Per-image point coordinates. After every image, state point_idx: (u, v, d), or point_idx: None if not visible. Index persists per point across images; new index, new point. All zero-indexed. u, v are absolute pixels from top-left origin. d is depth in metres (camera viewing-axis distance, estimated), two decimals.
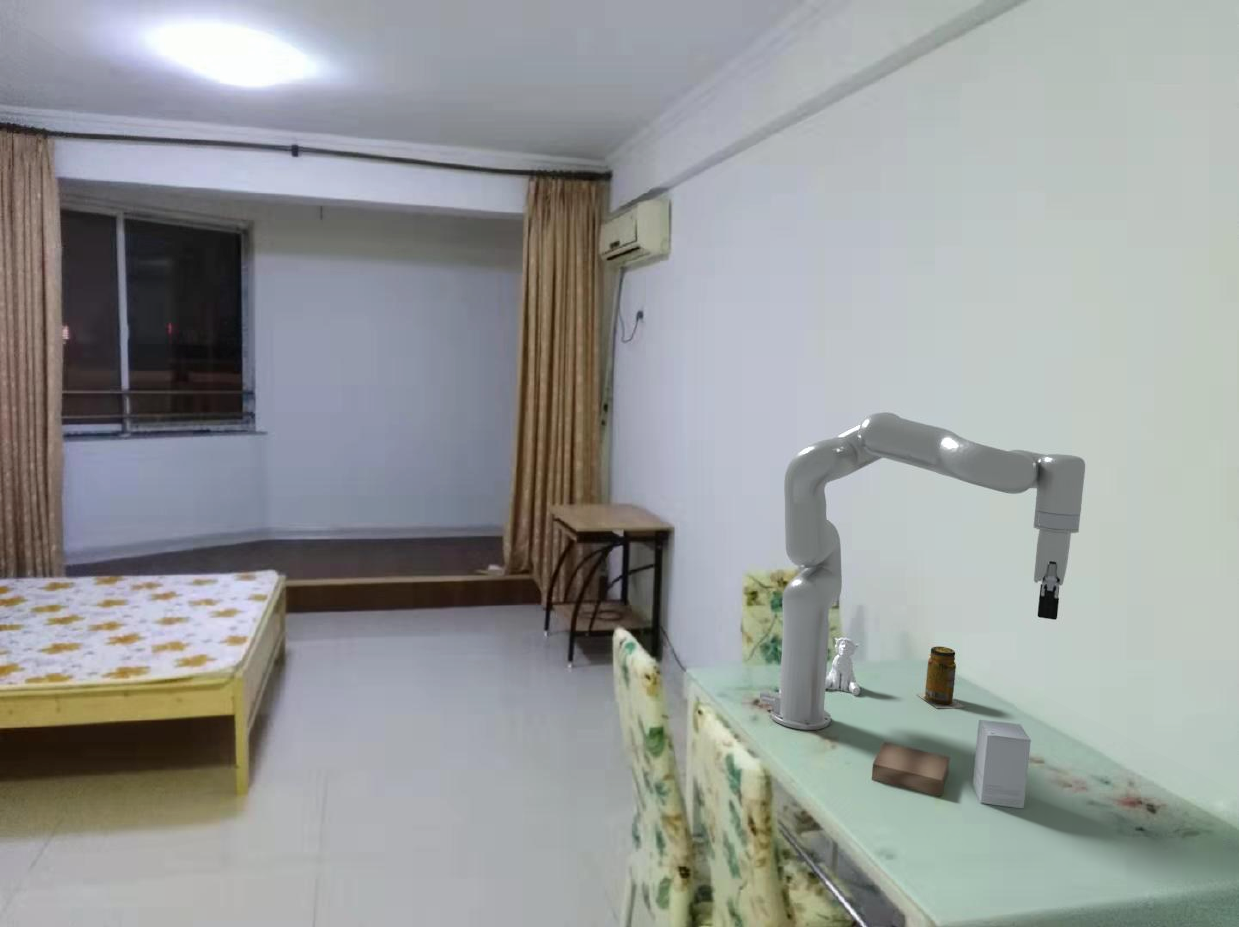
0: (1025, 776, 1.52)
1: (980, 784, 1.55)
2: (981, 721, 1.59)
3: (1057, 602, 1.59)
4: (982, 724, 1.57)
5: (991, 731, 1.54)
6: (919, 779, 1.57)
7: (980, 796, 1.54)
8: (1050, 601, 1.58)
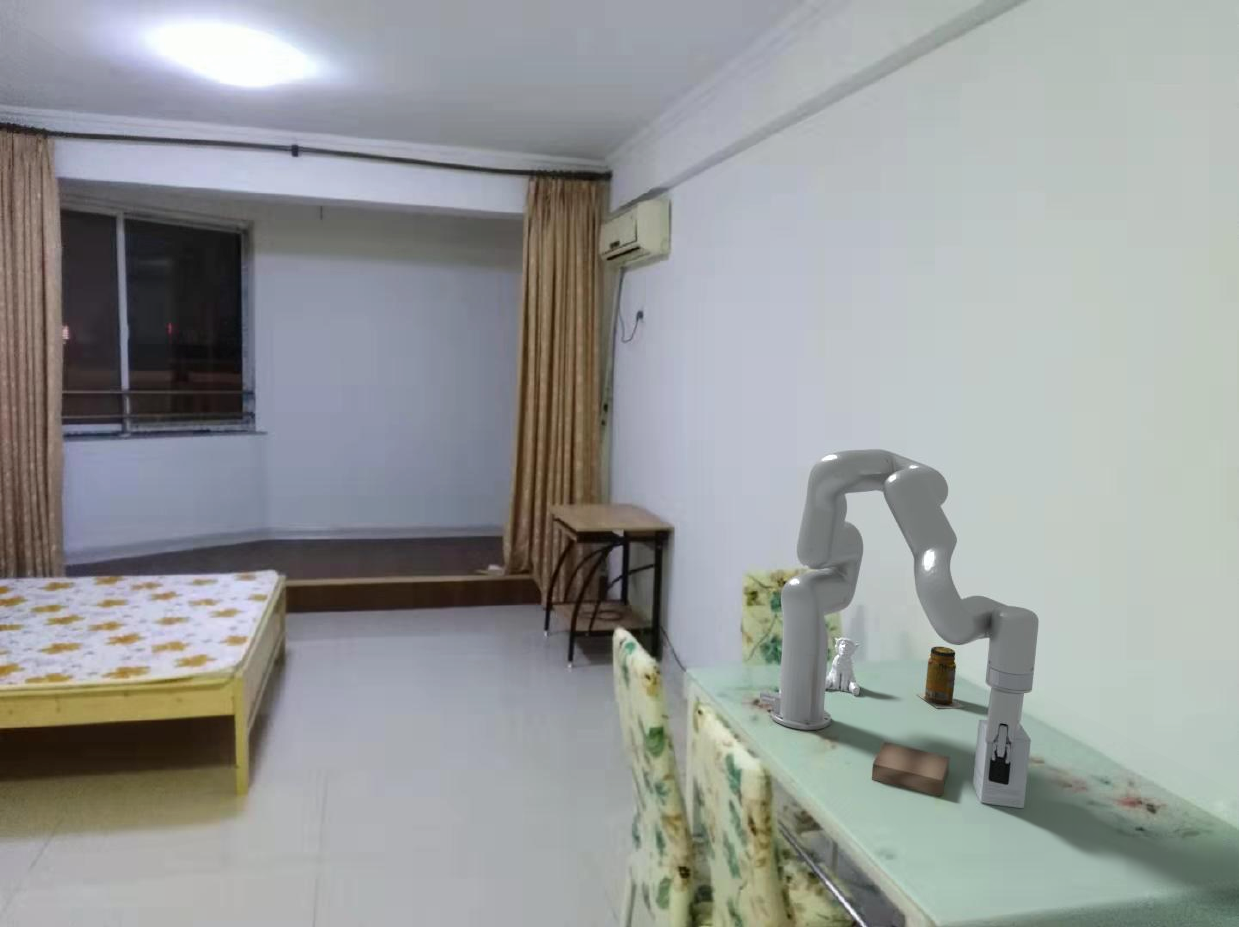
0: (1025, 776, 1.52)
1: (980, 784, 1.55)
2: (981, 721, 1.59)
3: (1009, 766, 1.51)
4: (982, 724, 1.57)
5: None
6: (919, 779, 1.57)
7: (980, 796, 1.54)
8: (1001, 766, 1.51)
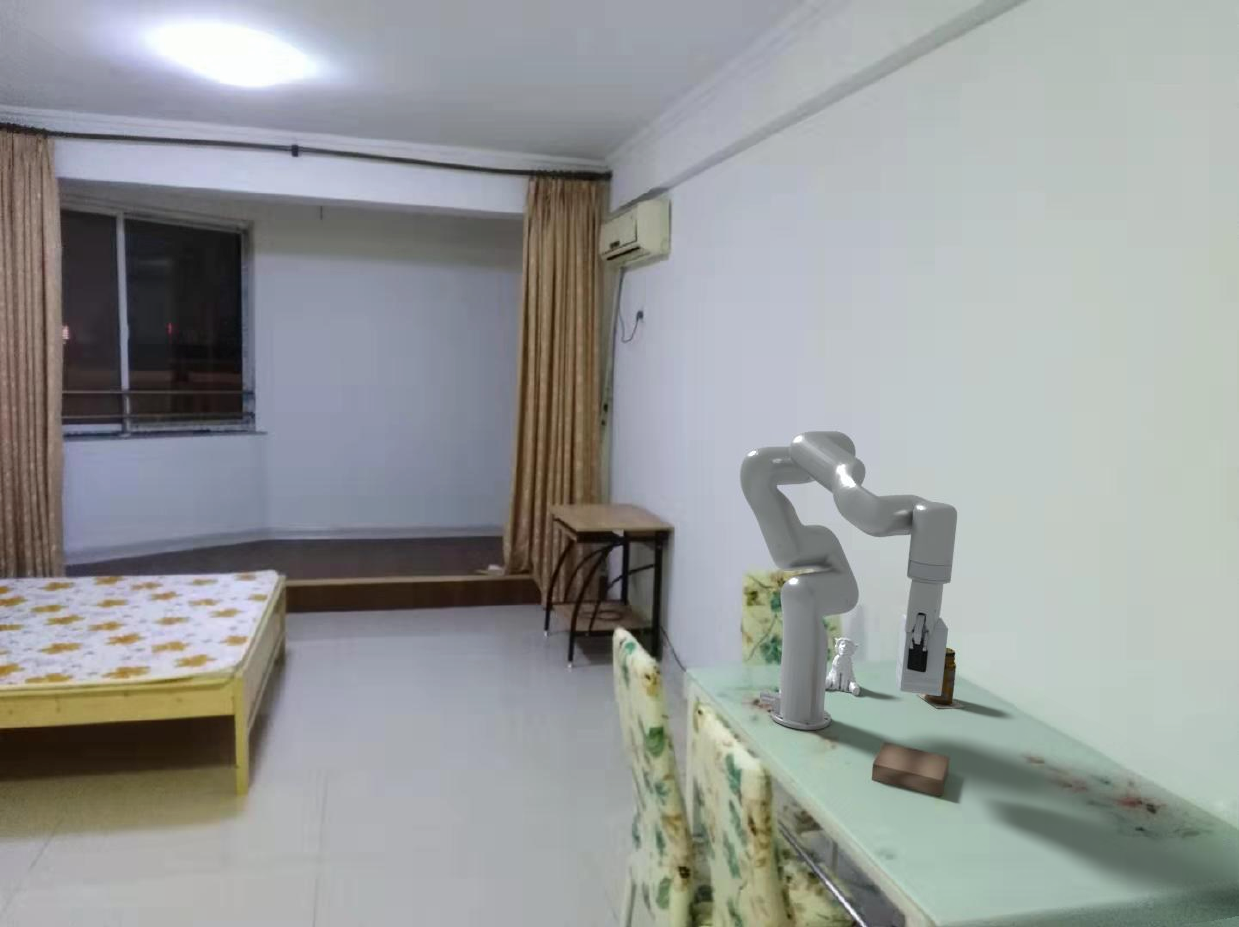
0: (942, 664, 1.57)
1: (900, 673, 1.60)
2: (903, 615, 1.64)
3: (926, 654, 1.56)
4: (904, 617, 1.62)
5: None
6: (919, 779, 1.57)
7: (900, 685, 1.59)
8: (919, 654, 1.56)
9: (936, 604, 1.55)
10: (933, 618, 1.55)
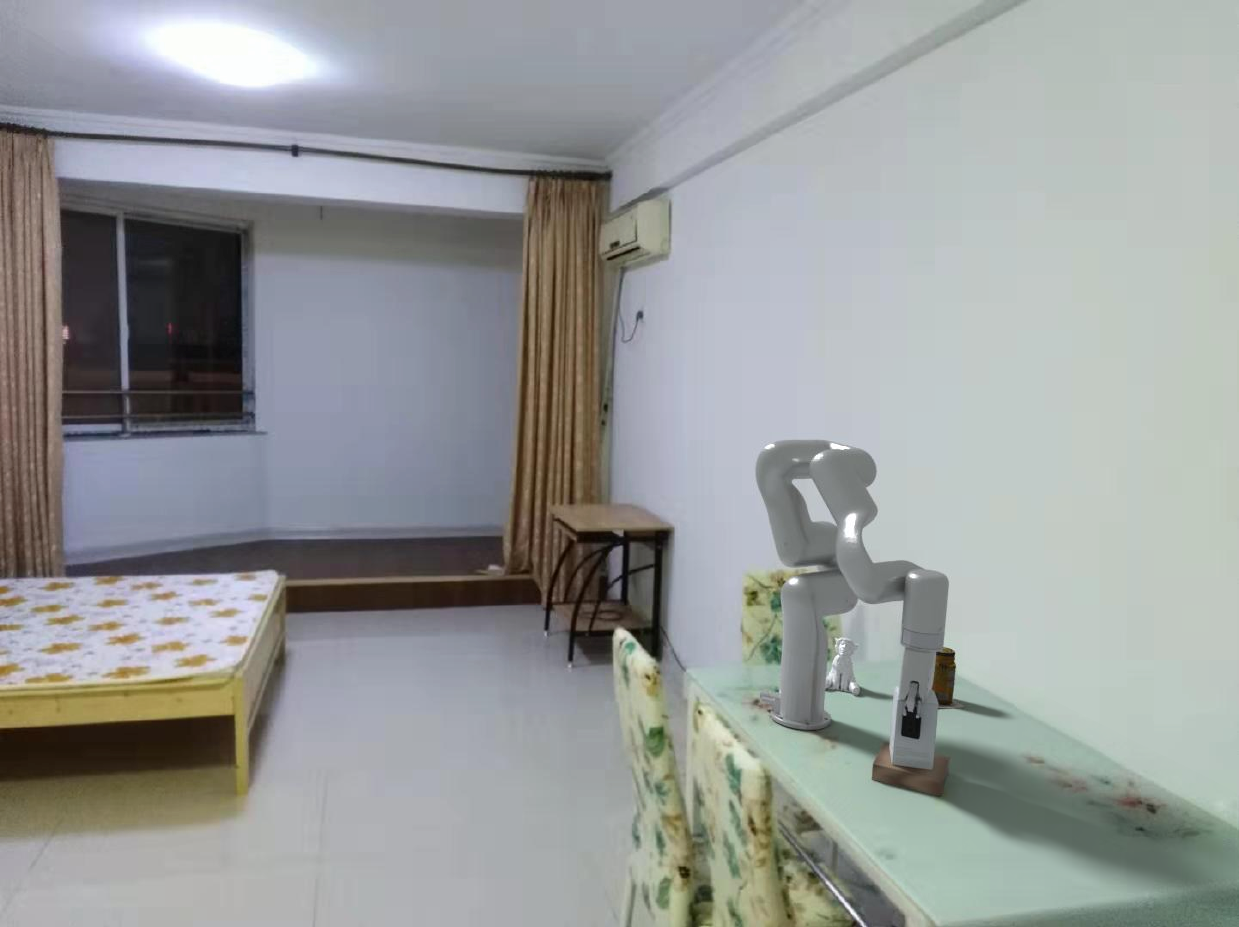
0: (933, 739, 1.59)
1: (892, 746, 1.62)
2: (896, 687, 1.65)
3: (919, 721, 1.57)
4: (896, 690, 1.64)
5: None
6: (919, 779, 1.57)
7: (892, 758, 1.61)
8: (912, 721, 1.57)
9: (929, 672, 1.57)
10: (926, 686, 1.56)
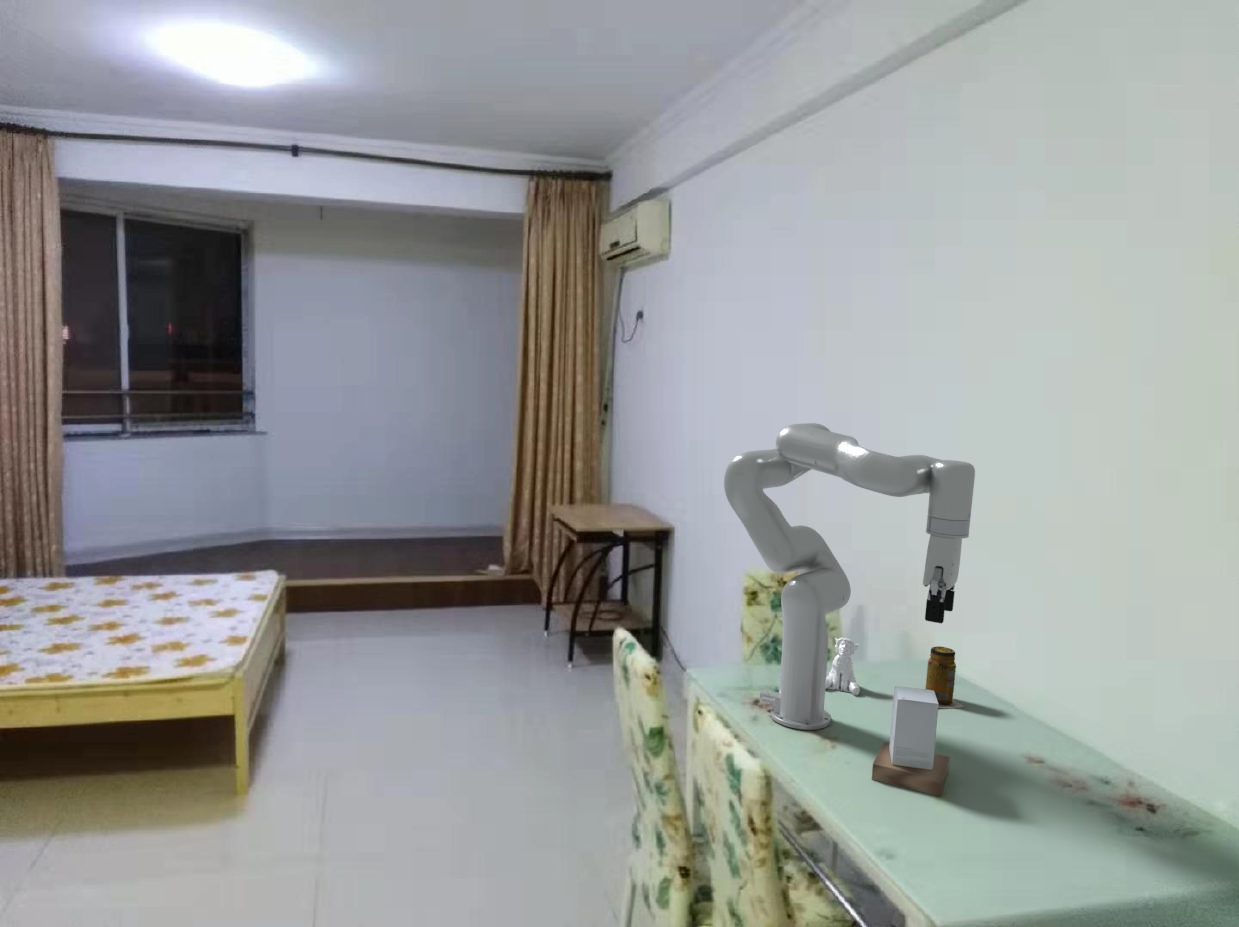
0: (933, 739, 1.59)
1: (892, 746, 1.62)
2: (896, 687, 1.65)
3: (943, 606, 1.61)
4: (896, 690, 1.64)
5: (902, 695, 1.61)
6: (919, 779, 1.57)
7: (892, 758, 1.61)
8: (936, 605, 1.61)
9: (953, 558, 1.60)
10: (950, 571, 1.60)
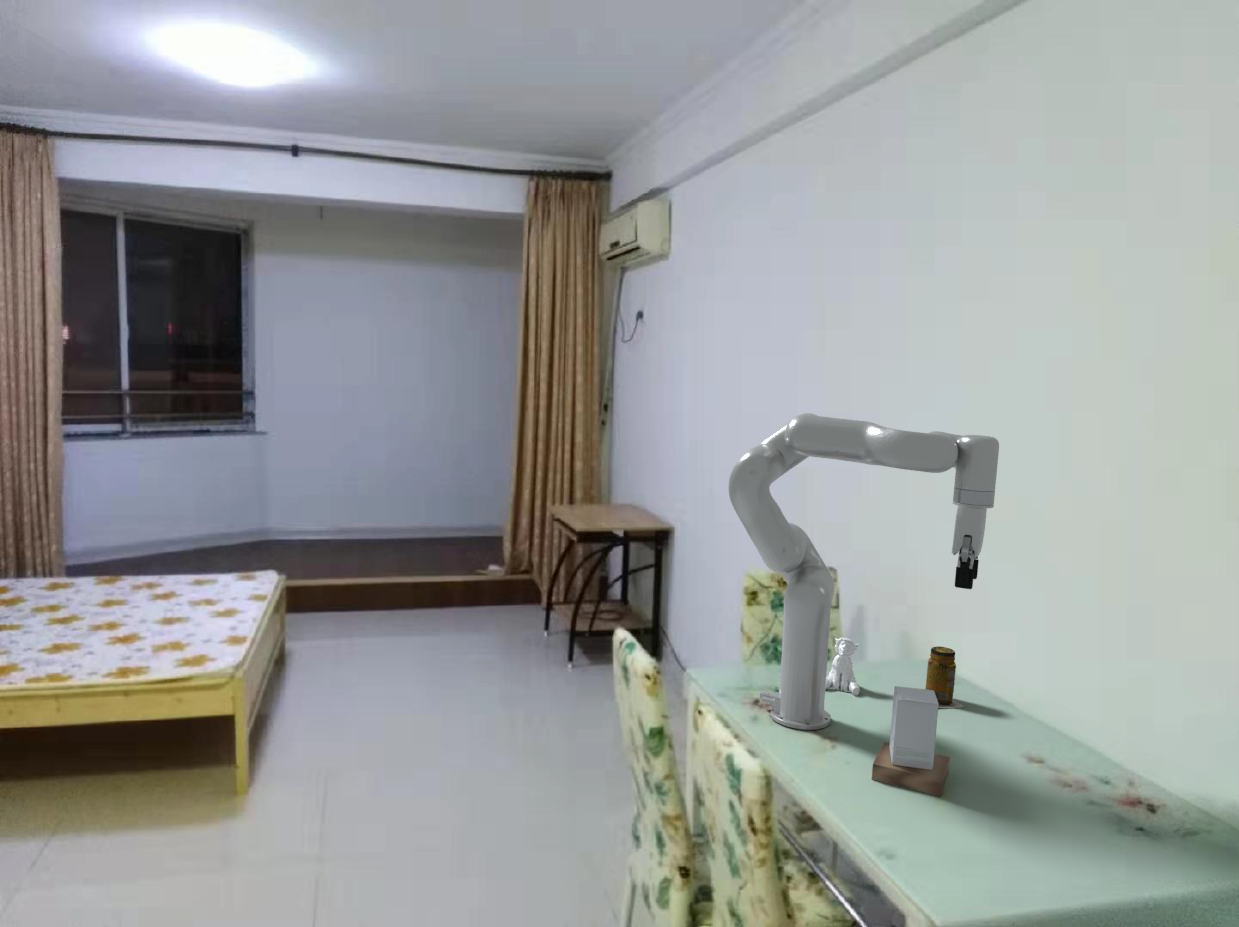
0: (933, 739, 1.59)
1: (892, 746, 1.62)
2: (896, 687, 1.65)
3: (972, 572, 1.70)
4: (896, 690, 1.64)
5: (902, 695, 1.61)
6: (919, 779, 1.57)
7: (892, 758, 1.61)
8: (965, 572, 1.70)
9: (981, 527, 1.69)
10: (978, 539, 1.69)
